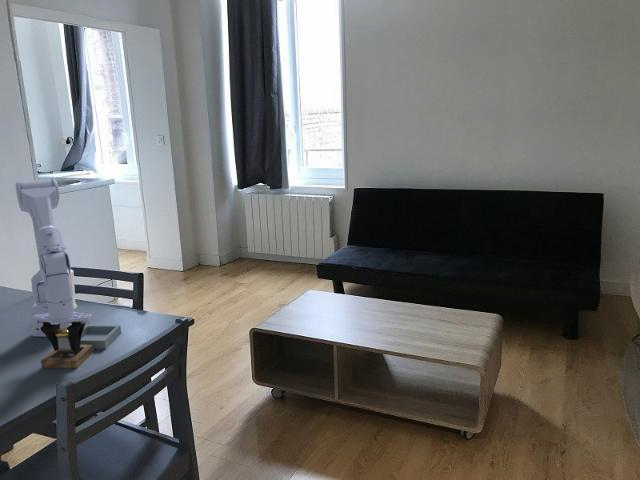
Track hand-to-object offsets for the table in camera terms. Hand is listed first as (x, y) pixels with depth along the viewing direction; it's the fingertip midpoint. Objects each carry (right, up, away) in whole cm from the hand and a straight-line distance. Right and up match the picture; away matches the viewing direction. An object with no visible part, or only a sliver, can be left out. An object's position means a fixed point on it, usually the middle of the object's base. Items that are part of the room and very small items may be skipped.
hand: (67, 349), depth 135 cm
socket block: (0, -3, +1) cm, 3 cm away
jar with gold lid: (0, -3, +1) cm, 3 cm away
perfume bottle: (-16, +6, +36) cm, 39 cm away
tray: (+3, 0, +11) cm, 12 cm away
